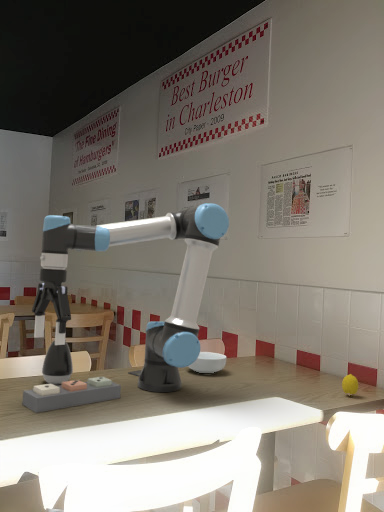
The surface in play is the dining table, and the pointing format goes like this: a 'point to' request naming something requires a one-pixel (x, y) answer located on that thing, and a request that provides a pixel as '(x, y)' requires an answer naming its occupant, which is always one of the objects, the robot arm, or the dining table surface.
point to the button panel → (70, 397)
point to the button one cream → (46, 389)
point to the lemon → (350, 384)
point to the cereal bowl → (208, 362)
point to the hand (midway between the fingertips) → (48, 340)
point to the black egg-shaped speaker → (57, 364)
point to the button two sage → (99, 382)
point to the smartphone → (135, 373)
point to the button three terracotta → (74, 385)
